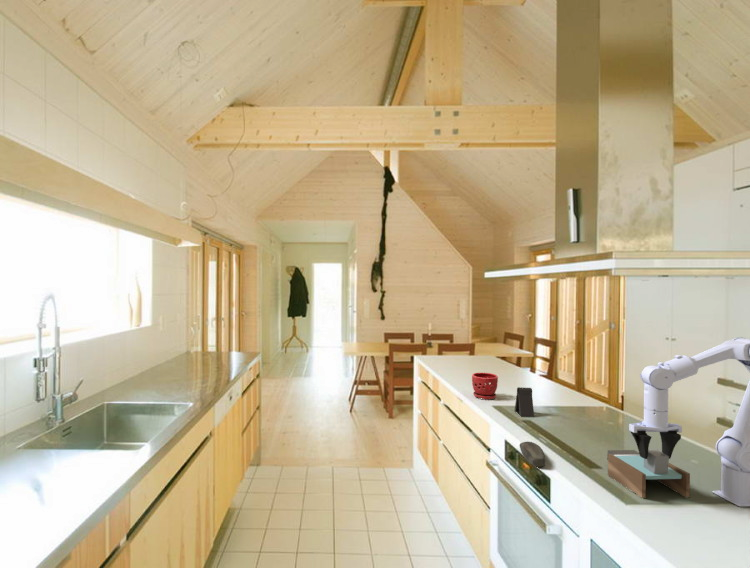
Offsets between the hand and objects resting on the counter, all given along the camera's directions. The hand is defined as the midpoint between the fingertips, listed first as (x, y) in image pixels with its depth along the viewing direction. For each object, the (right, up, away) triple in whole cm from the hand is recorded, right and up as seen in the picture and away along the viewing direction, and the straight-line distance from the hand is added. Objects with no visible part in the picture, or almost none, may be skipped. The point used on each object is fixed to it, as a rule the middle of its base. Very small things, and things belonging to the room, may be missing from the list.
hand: (655, 457), depth 116 cm
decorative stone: (-26, -10, +21) cm, 35 cm away
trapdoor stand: (-1, -9, +3) cm, 10 cm away
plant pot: (-22, -11, +100) cm, 103 cm away
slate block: (0, -4, 0) cm, 4 cm away
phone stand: (-11, -11, +72) cm, 73 cm away
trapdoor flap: (-1, -7, +6) cm, 9 cm away
